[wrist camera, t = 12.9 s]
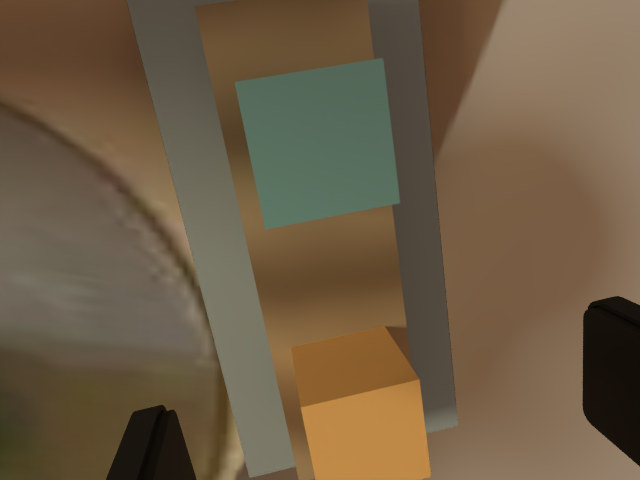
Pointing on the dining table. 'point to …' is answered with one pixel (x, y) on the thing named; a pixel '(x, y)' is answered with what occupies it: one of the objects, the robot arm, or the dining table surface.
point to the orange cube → (361, 408)
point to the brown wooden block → (312, 236)
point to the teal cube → (320, 142)
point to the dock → (227, 229)
